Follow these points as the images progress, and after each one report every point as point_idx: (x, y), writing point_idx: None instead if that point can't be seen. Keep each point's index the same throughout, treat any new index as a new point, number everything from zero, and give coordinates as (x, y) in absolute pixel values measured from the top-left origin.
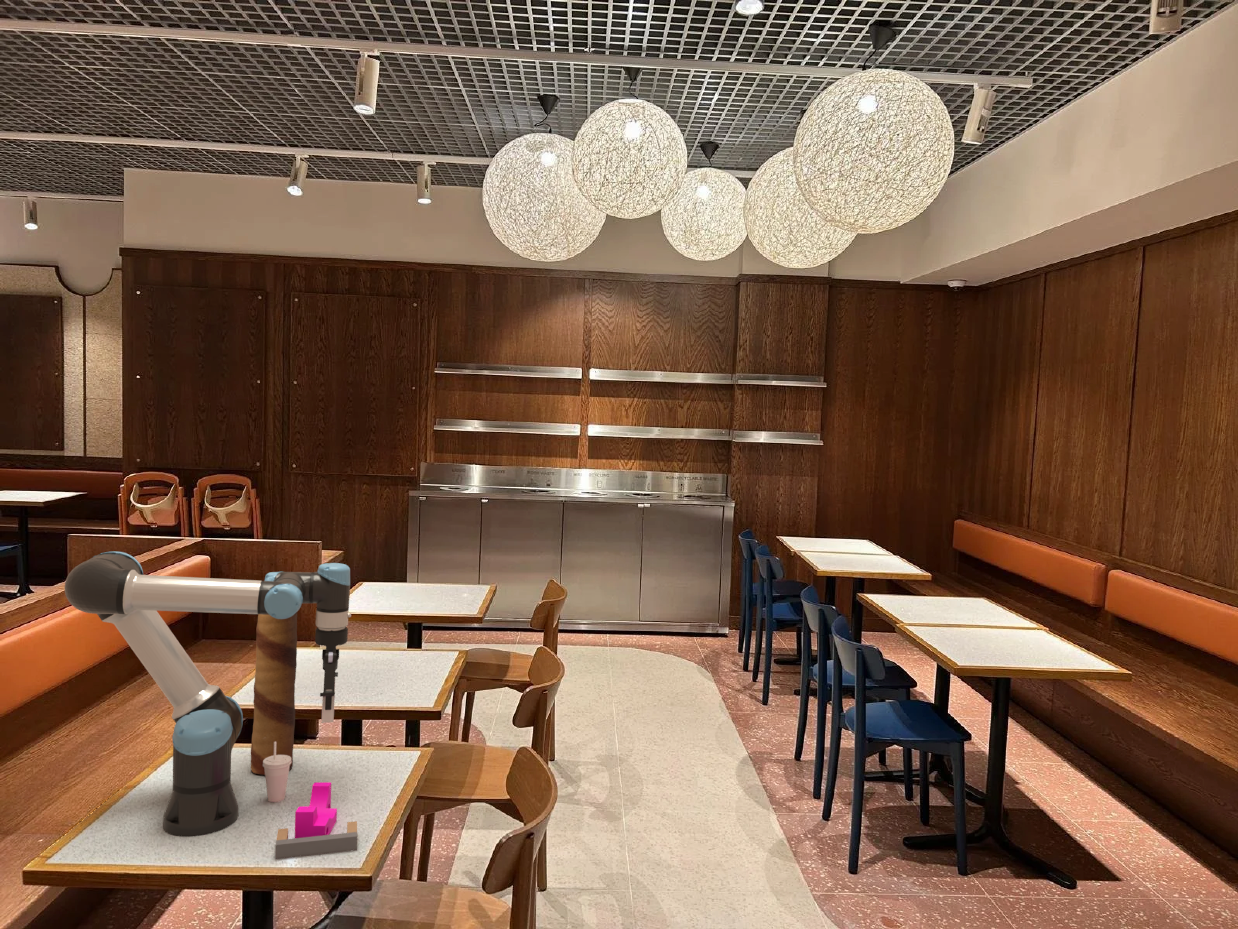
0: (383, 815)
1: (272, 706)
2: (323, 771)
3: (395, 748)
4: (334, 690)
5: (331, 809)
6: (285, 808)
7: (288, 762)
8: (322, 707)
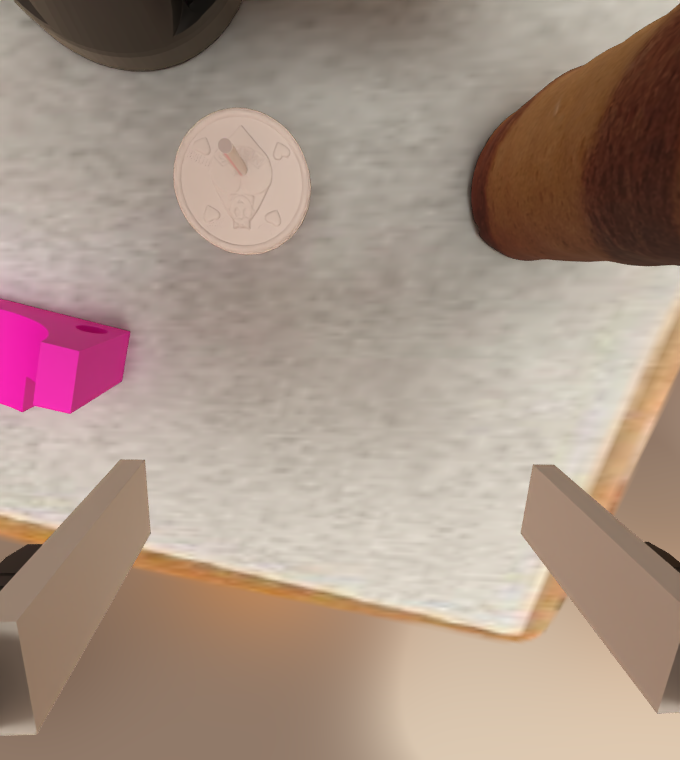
0: None
1: (675, 78)
2: (457, 362)
3: None
4: (576, 604)
5: (20, 394)
6: (185, 240)
7: (207, 239)
8: (58, 531)
